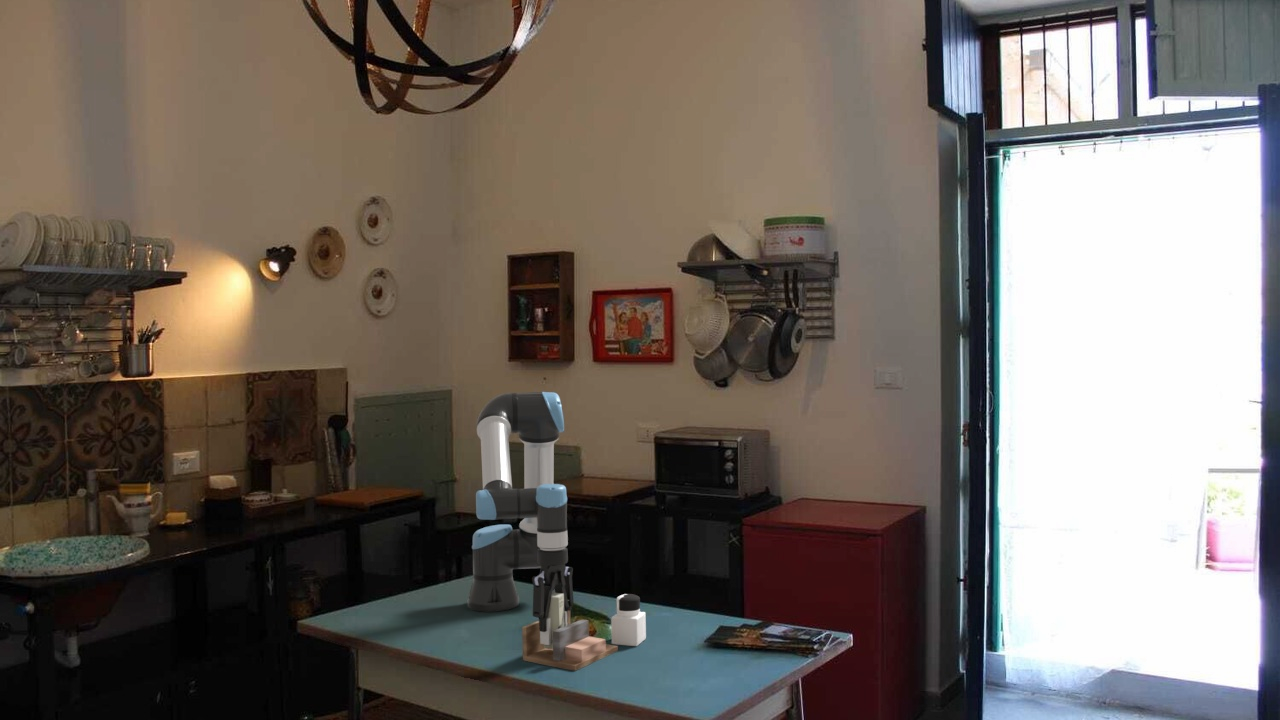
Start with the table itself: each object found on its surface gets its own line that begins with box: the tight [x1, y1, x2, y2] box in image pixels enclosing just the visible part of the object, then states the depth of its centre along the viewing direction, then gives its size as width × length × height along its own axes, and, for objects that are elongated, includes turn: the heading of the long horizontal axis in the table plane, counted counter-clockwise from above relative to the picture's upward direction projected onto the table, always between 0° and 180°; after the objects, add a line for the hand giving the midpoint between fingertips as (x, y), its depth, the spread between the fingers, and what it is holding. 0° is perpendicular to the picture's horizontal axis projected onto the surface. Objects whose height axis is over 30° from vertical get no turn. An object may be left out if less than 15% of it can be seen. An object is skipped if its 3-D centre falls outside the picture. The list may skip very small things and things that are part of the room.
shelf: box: [521, 611, 619, 672], centre depth 255 cm, size 18×16×8 cm
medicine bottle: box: [610, 593, 647, 647], centre depth 266 cm, size 7×7×12 cm
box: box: [544, 591, 565, 649], centre depth 254 cm, size 5×4×13 cm
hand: (554, 640), depth 254 cm, fingers closed on box, 6 cm apart
